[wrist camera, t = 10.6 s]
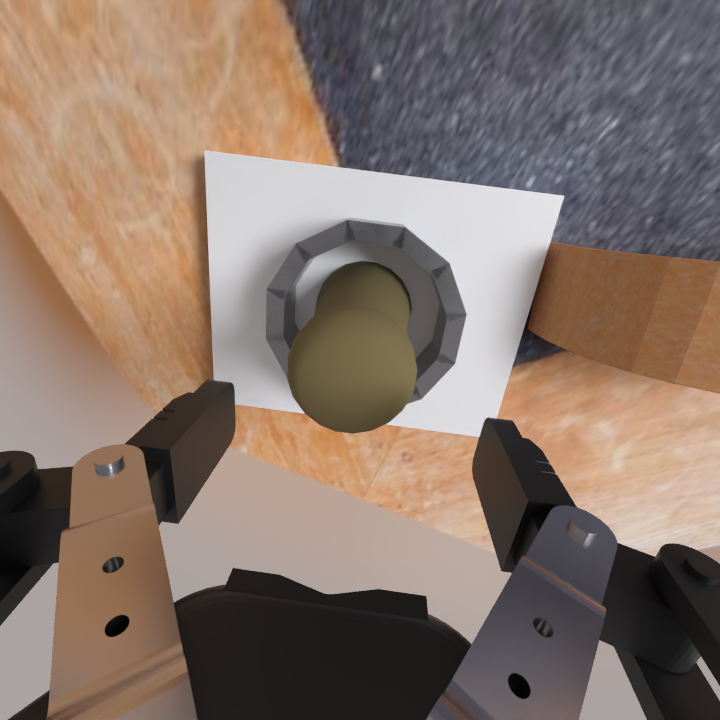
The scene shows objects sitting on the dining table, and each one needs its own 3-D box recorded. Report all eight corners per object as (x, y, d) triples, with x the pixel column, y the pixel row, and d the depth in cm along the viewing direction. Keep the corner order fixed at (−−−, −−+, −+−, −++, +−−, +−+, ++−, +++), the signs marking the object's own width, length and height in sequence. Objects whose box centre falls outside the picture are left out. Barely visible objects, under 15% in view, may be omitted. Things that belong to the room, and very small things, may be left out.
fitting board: (552, 196, 22) (564, 195, 20) (485, 426, 28) (490, 438, 27) (215, 153, 22) (204, 150, 21) (222, 391, 28) (214, 401, 27)
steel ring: (472, 233, 21) (485, 237, 19) (434, 399, 26) (441, 423, 23) (282, 208, 22) (268, 209, 19) (277, 379, 26) (264, 400, 23)
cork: (430, 317, 24) (466, 403, 13) (356, 370, 25) (338, 482, 15) (371, 239, 22) (360, 270, 12) (296, 301, 24) (231, 375, 14)
